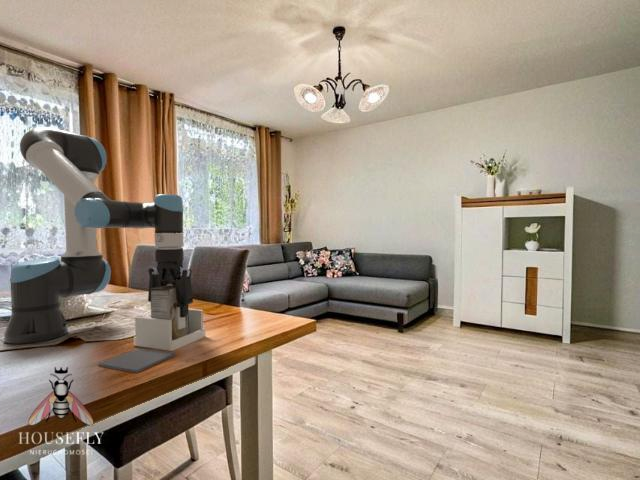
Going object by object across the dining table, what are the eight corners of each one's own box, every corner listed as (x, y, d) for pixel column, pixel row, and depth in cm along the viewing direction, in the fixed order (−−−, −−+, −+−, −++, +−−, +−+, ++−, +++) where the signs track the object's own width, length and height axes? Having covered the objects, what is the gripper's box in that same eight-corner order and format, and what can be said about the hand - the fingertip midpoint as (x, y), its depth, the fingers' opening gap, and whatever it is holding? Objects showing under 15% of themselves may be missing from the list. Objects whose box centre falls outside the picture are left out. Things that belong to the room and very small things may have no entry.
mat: (98, 366, 83) (98, 363, 83) (140, 349, 94) (140, 347, 94) (137, 372, 79) (136, 370, 79) (175, 355, 90) (175, 352, 90)
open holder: (133, 345, 98) (133, 317, 98) (169, 332, 111) (169, 307, 111) (172, 351, 93) (171, 321, 93) (205, 336, 106) (205, 310, 106)
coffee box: (170, 335, 107) (170, 283, 107) (189, 336, 106) (189, 283, 106) (150, 345, 98) (149, 288, 98) (170, 346, 97) (170, 288, 97)
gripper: (132, 248, 101) (134, 327, 102) (188, 249, 95) (189, 334, 95) (153, 247, 108) (154, 321, 109) (206, 248, 102) (207, 326, 102)
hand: (170, 327), depth 102 cm, fingers closed on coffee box, 7 cm apart
